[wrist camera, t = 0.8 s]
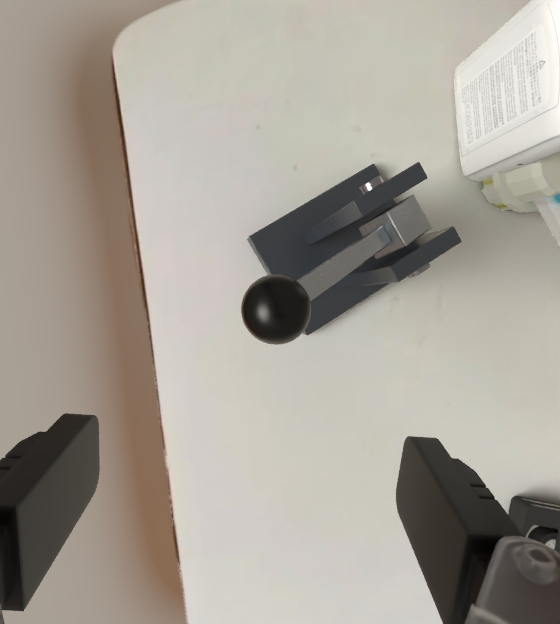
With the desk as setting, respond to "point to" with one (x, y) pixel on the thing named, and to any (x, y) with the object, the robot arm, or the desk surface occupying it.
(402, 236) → the lever with ball knob
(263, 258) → the dark grey pivot stand
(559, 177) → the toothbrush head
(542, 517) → the vhs tape
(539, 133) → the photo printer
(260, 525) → the desk surface
